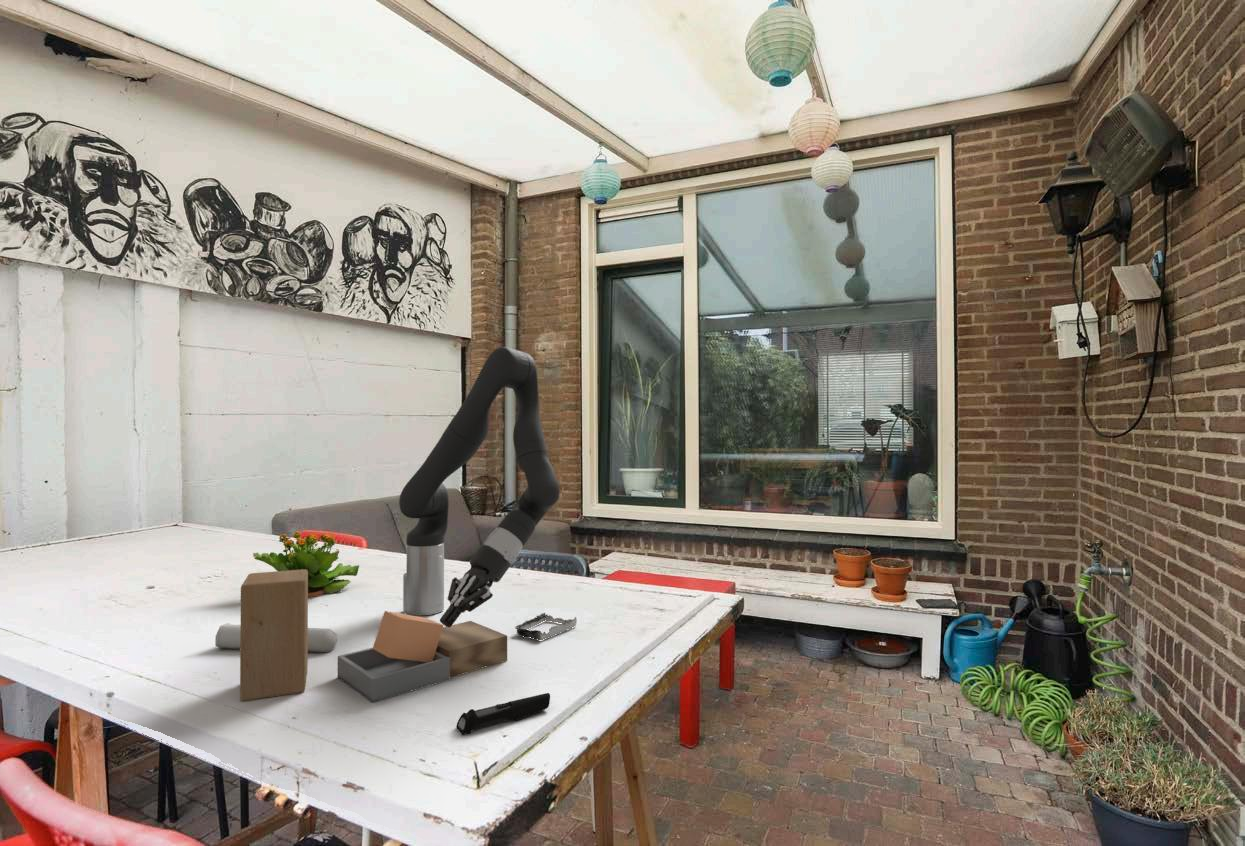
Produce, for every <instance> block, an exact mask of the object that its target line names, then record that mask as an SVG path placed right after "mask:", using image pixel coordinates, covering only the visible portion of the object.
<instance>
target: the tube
mask: <svg viewBox="0 0 1245 846" xmlns="http://www.w3.org/2000/svg"><path fill="white" fill-rule="evenodd" d="M240 630H241V624H232V623H225V624H222V625H220V626H219V628H218V630H217V632H216V634H215V640H214V641H215V647H217V648H218V649H219V650H223V649H225V650H227V649H230V650H240ZM337 643H338V637H337V633H336V631H334V630H332V629H330V628H320V627H317V628H316V627H308V653H328V652H331V651H332V650H333V649H334V648H335V647H336V645H337Z"/></svg>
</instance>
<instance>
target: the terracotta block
mask: <svg viewBox="0 0 1245 846" xmlns="http://www.w3.org/2000/svg"><path fill="white" fill-rule="evenodd" d="M443 627H445V626H444V625H443V624H442V623H439V622H437V621H434V620H433V619H429V618H427V617H422V616H419V615H410V614H404V613H400V612H399V613H398V612H392V611H388V610H384V612H383V615H382V619H381V621H380V625H379V628H378V631H377V634H376V637H375V641H374V643H373V646H372V648H373V649H374V650H376V651H378V652H380V653H381V654H383V655H385V656H387V657H389V658H396V659H404V660H413V661H421V662H431V661H433V659H434V655H435V652H436V649H437V645H438V642H439V639H440V636H441V632H442V629H443Z"/></svg>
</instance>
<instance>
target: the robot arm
mask: <svg viewBox="0 0 1245 846" xmlns="http://www.w3.org/2000/svg"><path fill="white" fill-rule="evenodd" d="M476 377H477V378H476V380H475V381H474V383H473V385H472V388H471V389H470V391H469V393H468V394H467V396H466V398H465V399H464V401H463V402H462V404H461V406H460V407H459V409H458V411H457V412H456V413H455V415H454V416H453V418H452V419H451V420H450V422H449V423H448V425H447V426H446V427H445V429H444V431H443V433H442V434H441V437H440V438H439V440H438V442H437V443H436V444H435V445H434V447H433V449H432V450H431V451H430V453H429V455H428V456H427V458H426V459H425V461H424V462H423V463H422V464H421V465H420V467H419V469H418V470H416V472H415V473H414V474H413V476H412V477H411V478H410V479H409V480H408V481H407V482H406V484H405V486H403V488H402V491H401V492H400V496H399V500H398V502H399V504H398V505H399V509H400V512H401V513H402V515H404V516H405V517H407V518H409V519H418V522H417V524H416V525H415V527H413V528H412V529H411V530H410V531H408V532H407V534H406V572H404V574H403V577H402V578H403V579H402V581H403V582H402V583H403V587H402V589H403V591H402V593H403V595H402V598H403V599H402V605H403V606H402V610H403V612H406V613H407V615H412V616H430V615H435V614H438V613H442V612H443V611H444V609H445V536H446V533H447V530H448V524H449V523H448V522H449V508H450V507H449V501H450V500H449V494H448V490H447V489H448V488H447V487H446V486H445V485H444V484H443V482H445V481H446V480H447V478H449V477H450V476H451V475H452V474H453V473H455V472H456V471H458V470H459V469H460V468H461V467H463V466H464V465H466V464H467V462H469V461H470V460H471V459H472V458H473V457H474V456H475V454H476V453H477V452H478V450H479V449H480V447H481V445H482V444H483V443H484V442H485V439H486V438H487V436H488V433H489V428H490V411H491V407H492V405H493V403H494V401H495V400H496V398H497V396H498V394H499V393H500V392H501V391H502V389H503V388H507V389H511V390H513V392H514V395H515V398H516V402H517V415H516V420H515V422H514V423H515V424H514V427H513V432H512V435H513V437H512V439H513V447H514V452H515V456H516V460H517V464H518V467H519V469H520V471H521V472H523V473H524V475H525V479H526V482H527V487H526V489H525V490H524V491H523V493H522V494H521V495H520V497H519V499H518V500H517V501H516V503H515V505H513V507H512V509H511V510H510V511H509V512H508V513H507V514H506V515H505V516H504V518H503V519H502V520H501V521H500V522H499V524H498V525H497V527H496V528H495V529H494V530H493V531H492V532H491V533H490V534H489V535H488V536H487V538H485V540H484V542H483V543H482V544H481V546H479V548H478V550H476V552H475V553H474V555H473V556H472V557H471V558H470V560H469V564H470V569H469V570H467V571H466V572H465V573H464V574H463V576H462V577H461V578H457V577H456V576H455V577H453V578H452V580H451V583H450V587H449V590H448V591H449V592H448V595H447V600H448V601H449V604H450V605H449V606H448V607H447V609H446V611H444V613H443V615H441V617H440V619H439V622H440V624H442V625H444V626H443V627H451V626H452V625H454V623H455V622H456V621H457V619H458V618H459V617H460V616H461V615H462V613H463V614H464V613H465V612H469V613H470V612H472V611H473V610H475V609H476V608H478V607H480V606H482V605H483V604H484V603H486V602H487V601H489V600H490V599H491V598H493V596H494V595H493V593H492V592H491V587H492V586H493V583H499V582H500V581H501V579H502V578H503V577H504V575H505V574H506V573H507V571H508V570H509V569H510V567H511V566H512V565H513V563H514V562H515V561H516V559H517V558H518V556H519V555H520V552H521V551H522V549H523V547H524V546H525V545H526V543H527V542H528V541H529V539H530V538H531V536H532V535H533V533H534V531H535V529H536V526H537V525H538V524H539V523H540V522H541V520H542V519H543V518H544V516H545V515H546V514H547V512H548V511H550V509H551V508H552V507H553V506H555V505H556V503H557V502H558V500H559V498H560V493H561V492H560V484H559V480H558V478H557V475H556V472H555V470H554V468H553V466H552V464H551V462H550V460H549V454H548V449H547V445H546V440H545V437H544V433H543V427H542V422H541V421H542V420H541V412H540V411H541V409H540V394H539V383H538V382H539V380H538V369H537V365H536V362H535V360H534V358H533V356H532V355H531V354H529V353H526V352H524V351H521V350H518V349H514V348H510V347H507V346H500V347H497V348H495V349H493V351H492V352H490V354H489V355H488V356H487V358H486V360H485V362H484V363H483V365H482V368H481V369H480V371H479V373H478V375H477V376H476Z"/></svg>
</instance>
